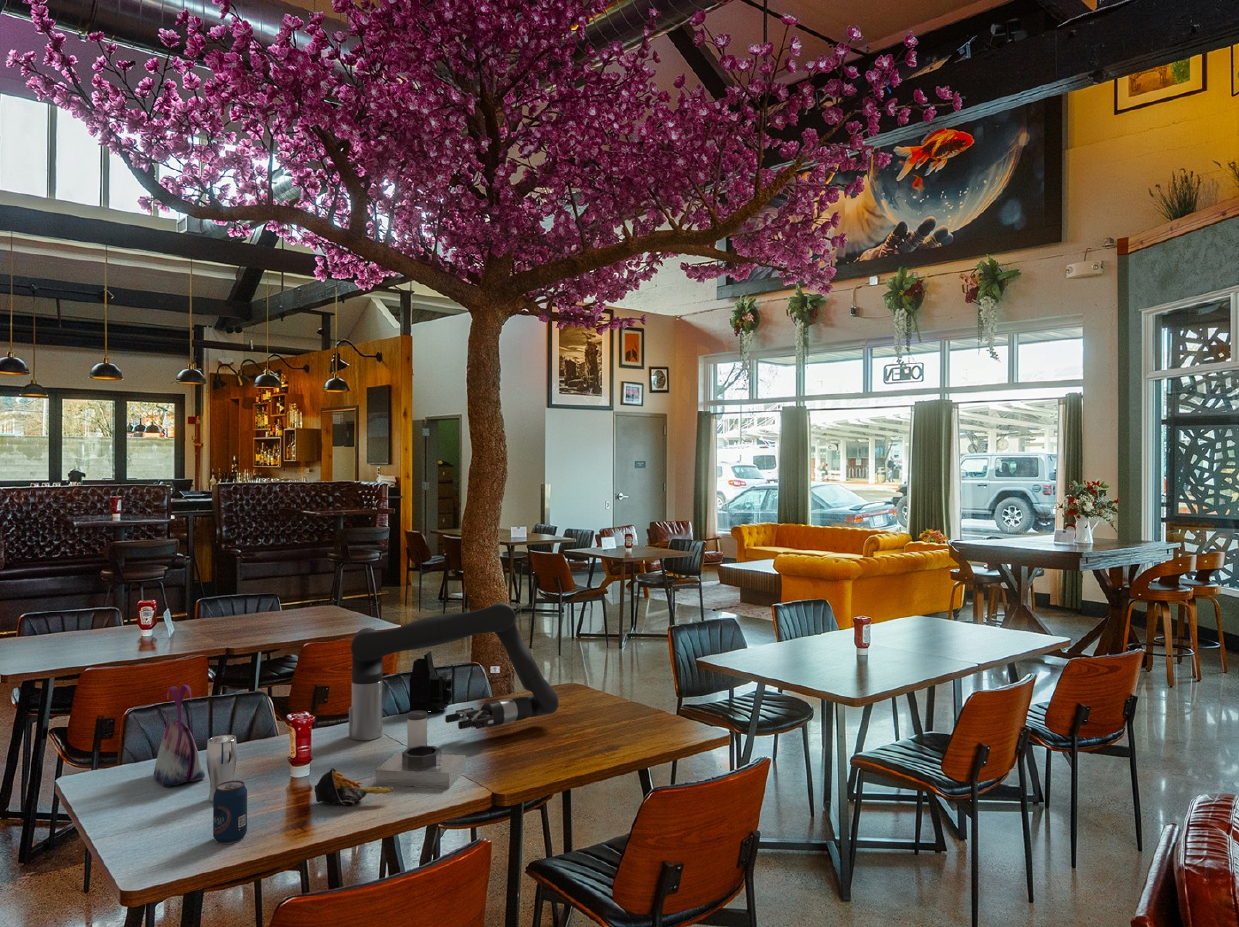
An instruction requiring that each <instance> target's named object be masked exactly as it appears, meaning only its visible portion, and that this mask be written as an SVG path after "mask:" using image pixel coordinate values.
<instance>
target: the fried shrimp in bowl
mask: <svg viewBox="0 0 1239 927" xmlns="http://www.w3.org/2000/svg"><path fill="white" fill-rule="evenodd" d="M363 784H364V782H363V781H362V782H361V781H359V782H358V781H356V780H355V781H354V780H352V779H349V778H345V777H344V774H343V773H342V772H339V771H337V770H336V768H335V767H331V769H330V770H329V771H327V772H326V773H324V774H323V775H322V776H321V778H320V779H319V781H318V783H317V784H316V785H314V793H315V799H316V800H315V801H316V802H317V803H320V802H323V803H326V804H337V803H340V804H341V805H346V806H349V805H350V806H353V805H355V802H359V801H361V800H362V799H364V798H365V797H366V796H367V795H368V794H373V795H374V794H375V795H377V794H383V795H385V794H388V793H392V792H393V791H394V786H372V787H369V786H368V787H361V785H363Z"/></svg>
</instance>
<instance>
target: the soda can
mask: <svg viewBox="0 0 1239 927" xmlns="http://www.w3.org/2000/svg"><path fill="white" fill-rule="evenodd" d="M212 804H213V806H212V807H213V808H212V822H213V823H212V837H213V839H214V841H216V843H217V842H218V843H217V844H219V843H221V844H220V845H230V844H235V843H238V842H240V841H242V840H243V839H244V837H245V836H246V834H247V832H248V789H247V787H246V786H245V782H244V781H243V780H233V781H228V782H224V783H221V784H219V785H217V787H216V791H215V793H214V795H213V803H212ZM241 839H242V840H241Z"/></svg>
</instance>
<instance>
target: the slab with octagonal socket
mask: <svg viewBox="0 0 1239 927" xmlns="http://www.w3.org/2000/svg"><path fill="white" fill-rule="evenodd" d="M466 756H467V755H465V754H443V753H442V749H441V748H439V747H438V746H435V745H427V746H416V747H412V748H408V747H407V748H406V749H405V750H404V751H403V752H395V753H394V754H393V755H392V756H391V757H389V758H388V759H387V760H386V761H384V762H383V763H382V764H381V765H379V767H377V768H376V769H375V786H378V787H386V786H390V787H403V786H414V787H413V788H427V787H431V789H450V788H452V786H453V785H454V784H455V782H456V781H457V780H459V778H460V777H461V776H462V774H463V773H465V771H466V769H467V767H466V763H467V760H466V758H467V757H466ZM452 784H453V785H452Z"/></svg>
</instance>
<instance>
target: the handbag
mask: <svg viewBox="0 0 1239 927" xmlns="http://www.w3.org/2000/svg"><path fill="white" fill-rule="evenodd" d="M187 690H188V694H189V698H190V700H192V689H191V686H190V685H186V684H181V686H180V691H179V690H178V687H177V686H175V685H174V686H170V687H169V688H167V692H166V693H167V694H166V696H167V699H169V694H170V691H171V694H172V698H173V701H174V704H175V707H176V710H177V720H172V721H170V722H169V708H167V712H166V726H165V728H164V732H163V735H162V738H161V740H160V741H161V742H160V746H159V748H158V752H157V756H156V761H155V766H154V769H153V770H154V771H153V779H154V780H155V781H156V782H158V784H160V785H161V784H162V785H161V786H162V787H165V788H169V787H173V786H177V785H180V784H183V783H187V782H194V781H199V780H203V779H205V778H206V775H205V774H206V773H205V770H204V768H203V764H202V762H201V757H200V755H199V754H200V753H199V751H198V747H197V745H196V742H195V739H194V728H193V726H194V724H193V714H192V713H193V712H192V710H190V728H189V727H188V725H186V723H185V722H184V721H182V704H183V699H184V698H185V697H184V696H185V694H186V691H187ZM178 691H179V692H178Z"/></svg>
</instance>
